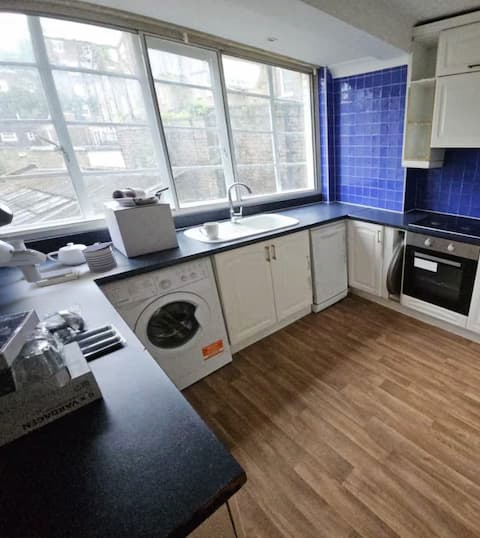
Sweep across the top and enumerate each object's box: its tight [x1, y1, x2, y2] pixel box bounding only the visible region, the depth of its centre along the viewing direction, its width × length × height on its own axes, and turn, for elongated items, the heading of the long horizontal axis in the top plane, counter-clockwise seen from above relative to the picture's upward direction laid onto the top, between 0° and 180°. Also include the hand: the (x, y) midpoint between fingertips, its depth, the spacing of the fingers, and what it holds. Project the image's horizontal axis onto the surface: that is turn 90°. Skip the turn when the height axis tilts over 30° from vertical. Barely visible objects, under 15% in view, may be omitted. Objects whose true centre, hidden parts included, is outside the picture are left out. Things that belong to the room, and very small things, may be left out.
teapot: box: [46, 242, 101, 266], centre depth 158 cm, size 22×14×11 cm, turn 133°
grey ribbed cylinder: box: [81, 242, 119, 274], centre depth 148 cm, size 11×11×12 cm
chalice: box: [5, 238, 27, 280], centre depth 139 cm, size 7×7×18 cm
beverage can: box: [19, 264, 43, 284], centre depth 124 cm, size 5×5×12 cm
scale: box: [36, 266, 79, 288], centre depth 140 cm, size 13×12×3 cm
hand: (29, 266), depth 124 cm, fingers closed on beverage can, 5 cm apart
